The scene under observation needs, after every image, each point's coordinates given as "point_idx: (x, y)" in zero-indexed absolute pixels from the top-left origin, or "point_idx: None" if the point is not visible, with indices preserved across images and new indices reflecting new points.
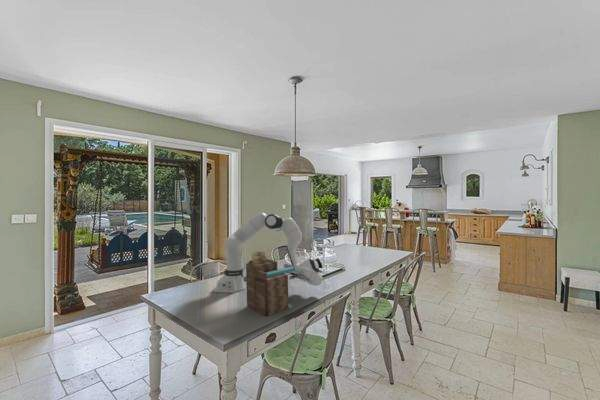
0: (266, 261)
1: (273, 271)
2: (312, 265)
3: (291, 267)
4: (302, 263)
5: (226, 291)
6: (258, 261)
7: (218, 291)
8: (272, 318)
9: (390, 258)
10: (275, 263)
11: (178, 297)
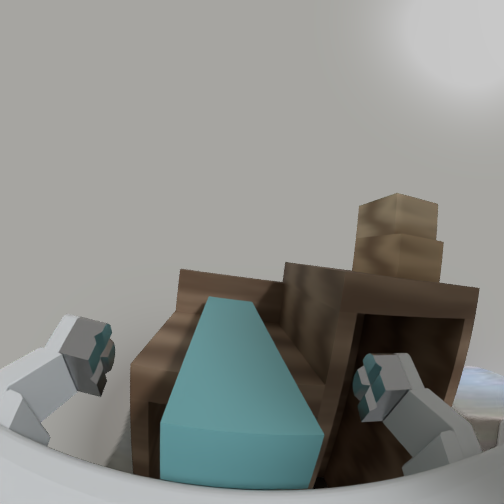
0: (394, 276)
1: (240, 316)
2: None
3: (236, 412)
4: None
5: (498, 439)
6: (362, 260)
7: (499, 427)
8: (130, 461)
9: None
10: (333, 286)
11: (463, 387)
